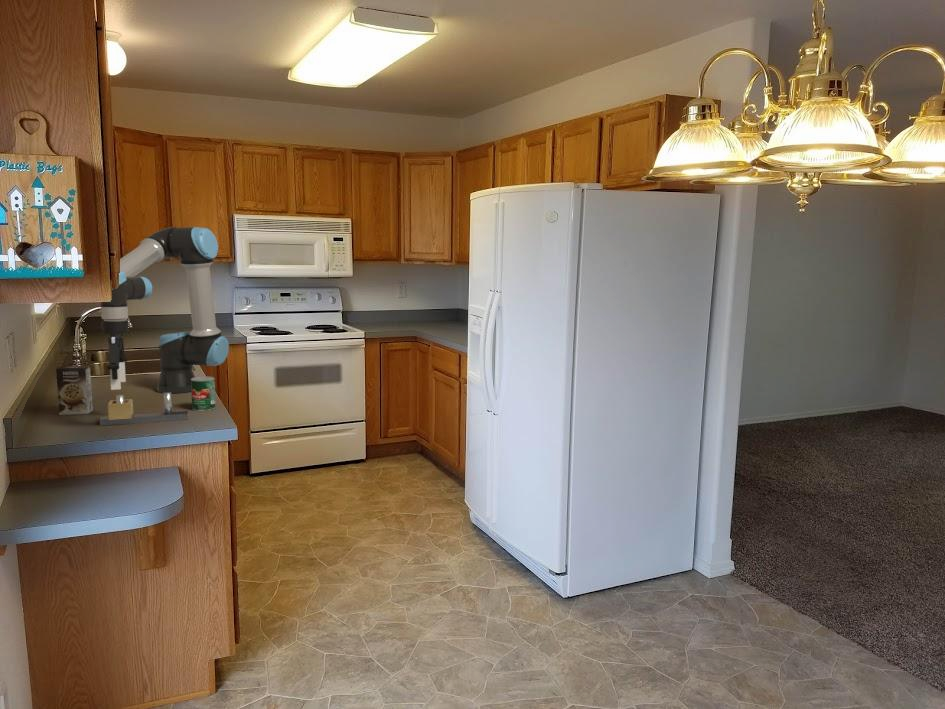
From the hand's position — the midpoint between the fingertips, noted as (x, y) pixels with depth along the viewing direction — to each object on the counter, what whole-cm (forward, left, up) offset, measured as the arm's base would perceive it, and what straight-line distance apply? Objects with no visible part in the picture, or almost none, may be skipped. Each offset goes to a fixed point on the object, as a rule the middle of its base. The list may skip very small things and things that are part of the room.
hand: (118, 385), depth 218 cm
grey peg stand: (0, +7, -12) cm, 14 cm away
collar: (0, 0, -10) cm, 10 cm away
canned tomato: (-13, +25, -13) cm, 31 cm away
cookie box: (-20, -16, -13) cm, 29 cm away
